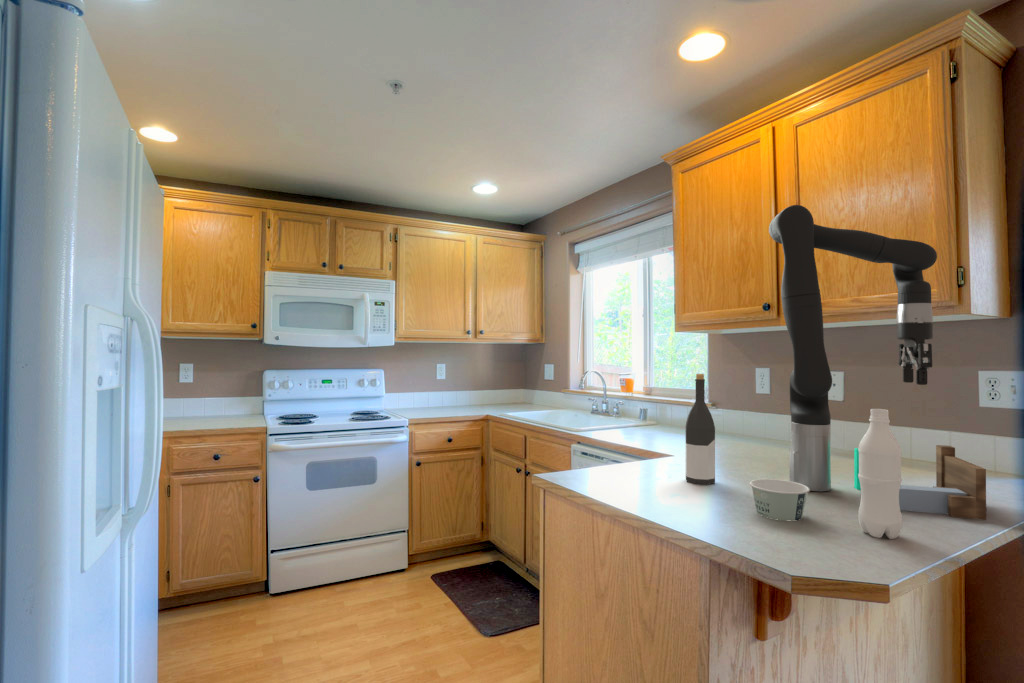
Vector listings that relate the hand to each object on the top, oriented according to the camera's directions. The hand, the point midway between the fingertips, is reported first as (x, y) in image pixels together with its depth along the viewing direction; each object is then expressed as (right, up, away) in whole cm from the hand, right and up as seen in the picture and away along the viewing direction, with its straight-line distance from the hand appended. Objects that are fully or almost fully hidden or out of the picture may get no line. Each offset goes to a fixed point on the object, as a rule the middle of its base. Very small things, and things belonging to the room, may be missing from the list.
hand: (914, 383), depth 138 cm
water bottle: (-31, -28, -32) cm, 53 cm away
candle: (-11, -28, +2) cm, 30 cm away
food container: (-45, -28, -19) cm, 57 cm away
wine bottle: (-53, -28, +9) cm, 60 cm away
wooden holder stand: (-2, -28, -14) cm, 31 cm away
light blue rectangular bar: (-10, -28, -16) cm, 34 cm away
